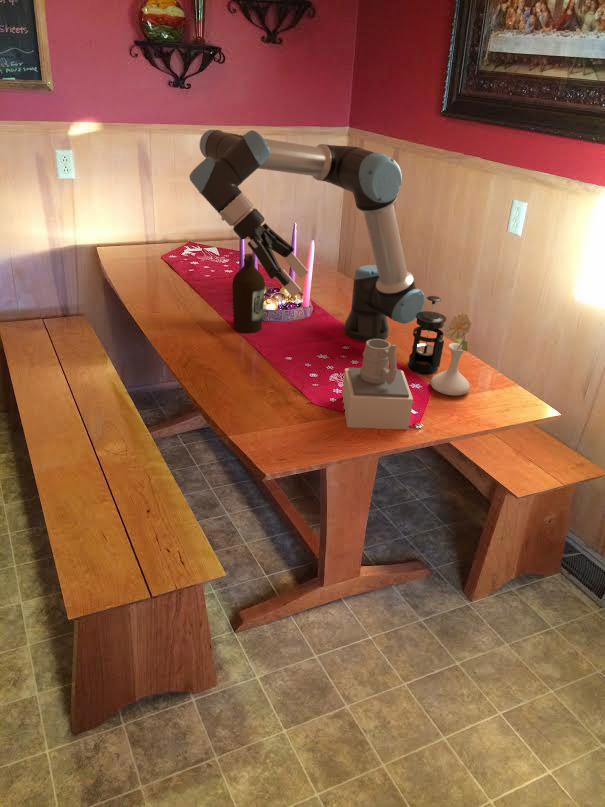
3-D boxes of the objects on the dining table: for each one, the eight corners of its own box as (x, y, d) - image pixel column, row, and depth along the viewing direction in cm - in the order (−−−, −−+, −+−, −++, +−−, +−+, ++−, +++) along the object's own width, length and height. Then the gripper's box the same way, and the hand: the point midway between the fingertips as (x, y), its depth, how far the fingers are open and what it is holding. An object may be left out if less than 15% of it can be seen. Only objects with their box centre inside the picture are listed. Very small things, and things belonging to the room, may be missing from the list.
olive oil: (225, 328, 222) (226, 255, 209) (242, 318, 230) (244, 247, 218) (252, 336, 218) (254, 262, 205) (269, 326, 226) (272, 254, 213)
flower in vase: (427, 379, 199) (441, 300, 187) (465, 381, 199) (481, 303, 187) (433, 400, 188) (448, 318, 176) (473, 403, 188) (491, 321, 176)
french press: (399, 362, 208) (410, 293, 196) (423, 358, 212) (435, 289, 201) (423, 379, 199) (435, 307, 188) (447, 373, 203) (461, 303, 192)
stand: (341, 396, 187) (345, 365, 182) (398, 399, 188) (403, 368, 183) (347, 427, 173) (351, 394, 168) (408, 429, 174) (413, 396, 169)
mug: (376, 368, 181) (381, 328, 175) (404, 387, 173) (410, 345, 167) (353, 374, 178) (358, 332, 172) (380, 393, 169) (386, 351, 163)
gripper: (243, 214, 172) (297, 276, 178) (219, 241, 151) (281, 311, 157) (264, 195, 169) (318, 259, 175) (242, 220, 148) (305, 292, 154)
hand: (301, 284), depth 166 cm, fingers open, 13 cm apart
